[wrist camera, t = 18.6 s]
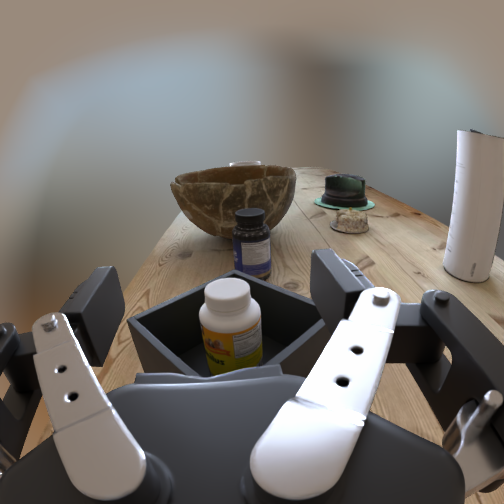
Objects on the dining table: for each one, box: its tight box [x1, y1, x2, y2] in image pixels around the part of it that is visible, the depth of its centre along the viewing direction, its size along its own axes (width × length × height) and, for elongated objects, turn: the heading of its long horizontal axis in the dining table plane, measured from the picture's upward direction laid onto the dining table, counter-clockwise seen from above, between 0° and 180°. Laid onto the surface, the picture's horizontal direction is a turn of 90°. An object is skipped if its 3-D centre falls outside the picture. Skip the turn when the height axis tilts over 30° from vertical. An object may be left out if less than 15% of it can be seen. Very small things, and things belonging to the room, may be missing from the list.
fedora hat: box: [315, 174, 375, 211], centre depth 94 cm, size 15×19×20 cm
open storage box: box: [127, 269, 332, 378], centre depth 29 cm, size 15×15×8 cm
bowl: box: [170, 165, 296, 239], centre depth 68 cm, size 28×27×15 cm
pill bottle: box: [232, 208, 271, 280], centre depth 50 cm, size 6×6×11 cm
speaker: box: [443, 129, 504, 283], centre depth 42 cm, size 11×10×26 cm
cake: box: [330, 207, 369, 233], centre depth 71 cm, size 10×10×5 cm
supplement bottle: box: [199, 278, 263, 377], centre depth 28 cm, size 6×6×10 cm
